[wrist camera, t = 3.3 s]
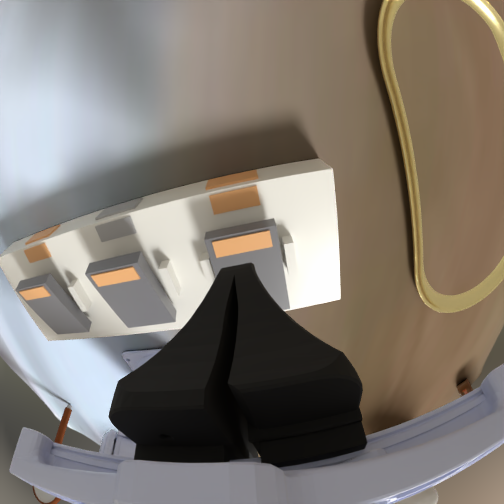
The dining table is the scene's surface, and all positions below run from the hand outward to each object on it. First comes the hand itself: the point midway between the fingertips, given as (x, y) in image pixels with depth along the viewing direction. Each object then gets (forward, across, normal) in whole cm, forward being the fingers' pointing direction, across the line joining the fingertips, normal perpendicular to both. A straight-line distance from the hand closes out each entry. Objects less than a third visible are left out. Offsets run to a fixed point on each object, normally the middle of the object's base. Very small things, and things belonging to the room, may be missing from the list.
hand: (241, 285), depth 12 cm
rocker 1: (+5, +16, +3) cm, 17 cm away
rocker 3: (+5, 0, +3) cm, 6 cm away
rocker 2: (+5, +8, +3) cm, 10 cm away
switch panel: (+9, +8, +3) cm, 13 cm away
